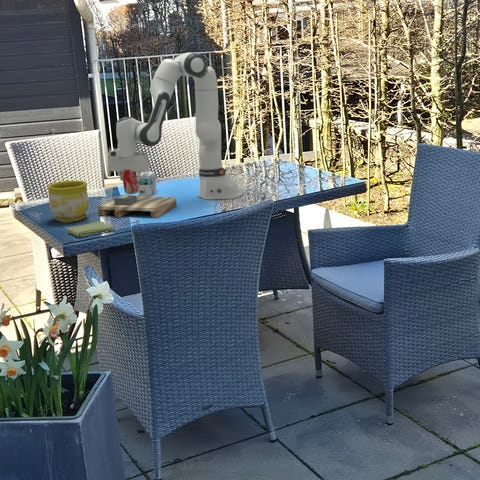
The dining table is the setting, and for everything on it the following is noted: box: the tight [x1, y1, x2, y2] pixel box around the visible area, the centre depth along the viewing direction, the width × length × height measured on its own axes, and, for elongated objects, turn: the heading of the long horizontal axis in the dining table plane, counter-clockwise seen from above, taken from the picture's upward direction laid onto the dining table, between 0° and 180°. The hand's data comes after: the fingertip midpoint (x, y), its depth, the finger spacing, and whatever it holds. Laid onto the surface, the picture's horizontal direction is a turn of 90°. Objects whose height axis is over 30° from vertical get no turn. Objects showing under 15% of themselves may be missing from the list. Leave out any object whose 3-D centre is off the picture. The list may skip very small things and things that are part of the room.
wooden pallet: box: [97, 195, 177, 219], centre depth 368 cm, size 30×26×4 cm
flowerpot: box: [46, 179, 90, 223], centre depth 357 cm, size 18×18×16 cm
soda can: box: [121, 169, 139, 195], centre depth 372 cm, size 7×7×12 cm
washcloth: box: [66, 221, 116, 238], centre depth 335 cm, size 13×18×3 cm
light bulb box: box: [138, 171, 157, 197], centre depth 403 cm, size 11×7×11 cm, turn 168°
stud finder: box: [113, 194, 137, 205], centre depth 364 cm, size 8×7×3 cm
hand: (129, 180), depth 372 cm, fingers closed on soda can, 6 cm apart
